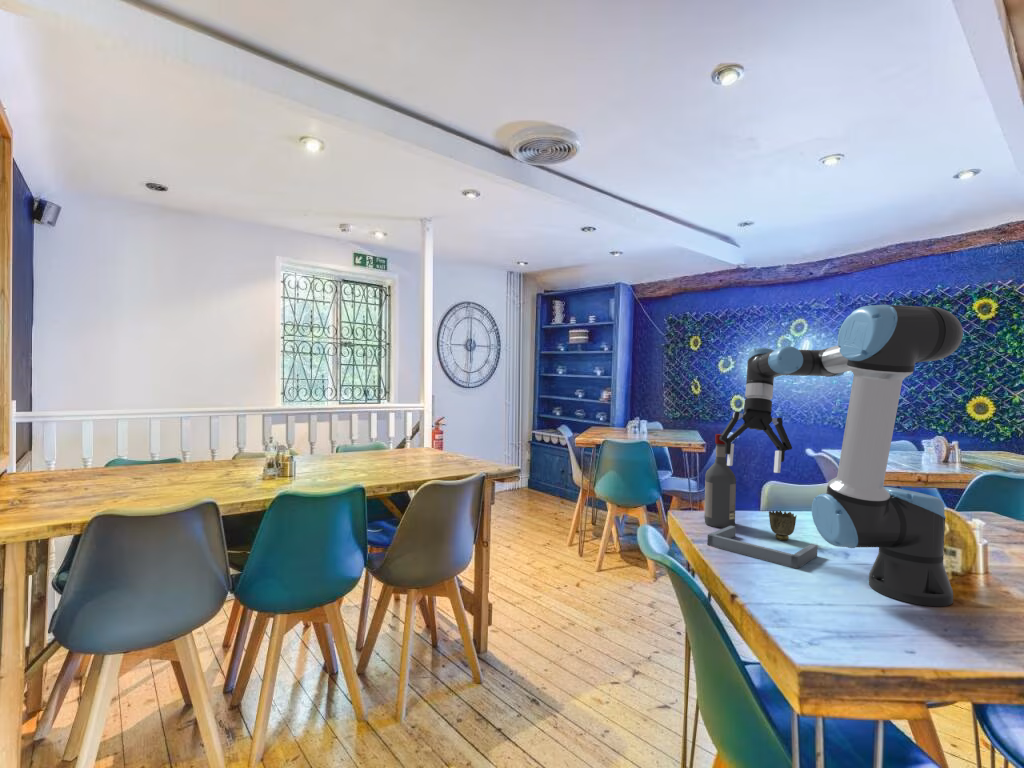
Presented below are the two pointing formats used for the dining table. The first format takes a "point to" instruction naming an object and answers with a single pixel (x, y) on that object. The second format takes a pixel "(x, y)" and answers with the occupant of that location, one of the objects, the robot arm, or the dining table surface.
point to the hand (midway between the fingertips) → (753, 469)
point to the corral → (760, 549)
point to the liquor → (720, 490)
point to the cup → (782, 524)
